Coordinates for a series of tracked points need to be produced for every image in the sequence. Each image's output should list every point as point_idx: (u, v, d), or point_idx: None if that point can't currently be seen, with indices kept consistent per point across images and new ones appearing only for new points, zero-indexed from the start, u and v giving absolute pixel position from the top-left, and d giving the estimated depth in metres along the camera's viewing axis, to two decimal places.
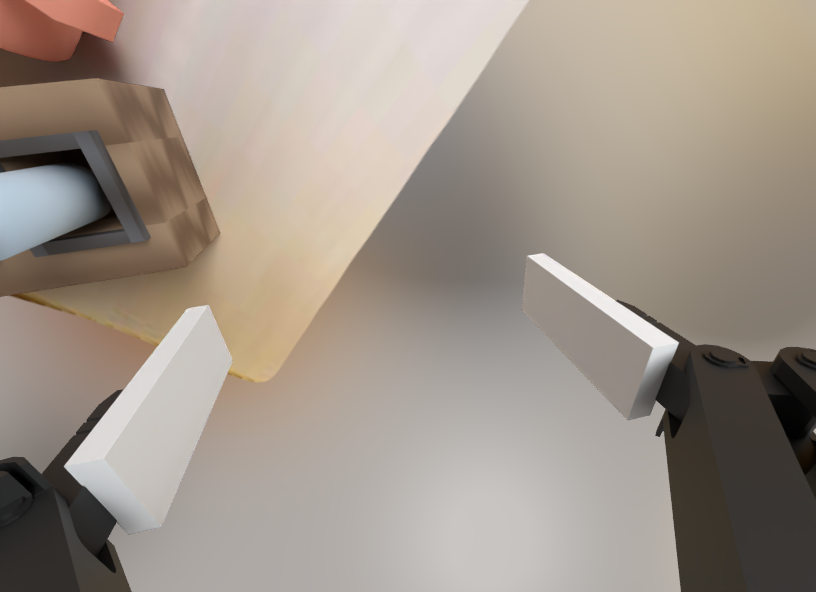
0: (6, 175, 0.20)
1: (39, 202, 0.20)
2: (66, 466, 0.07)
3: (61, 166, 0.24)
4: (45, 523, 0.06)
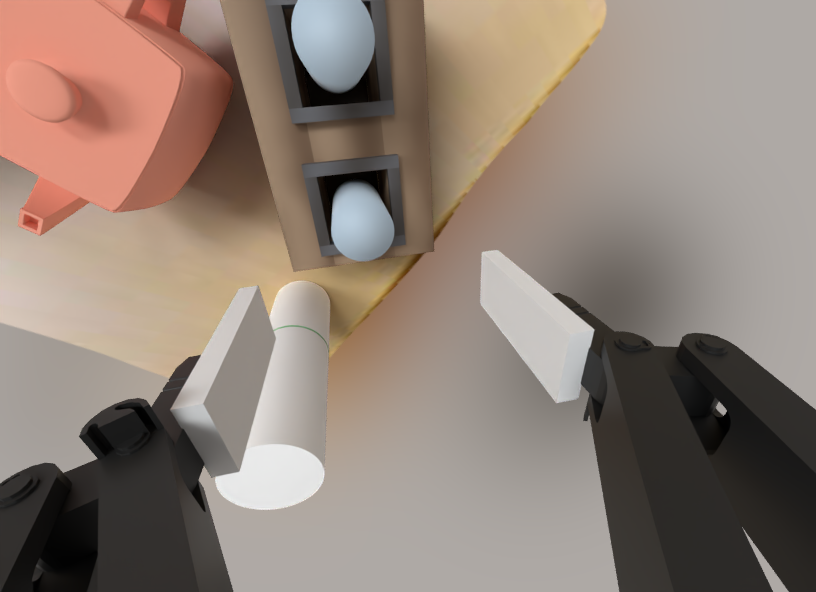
0: None
1: None
2: (171, 410, 0.08)
3: None
4: (158, 458, 0.07)
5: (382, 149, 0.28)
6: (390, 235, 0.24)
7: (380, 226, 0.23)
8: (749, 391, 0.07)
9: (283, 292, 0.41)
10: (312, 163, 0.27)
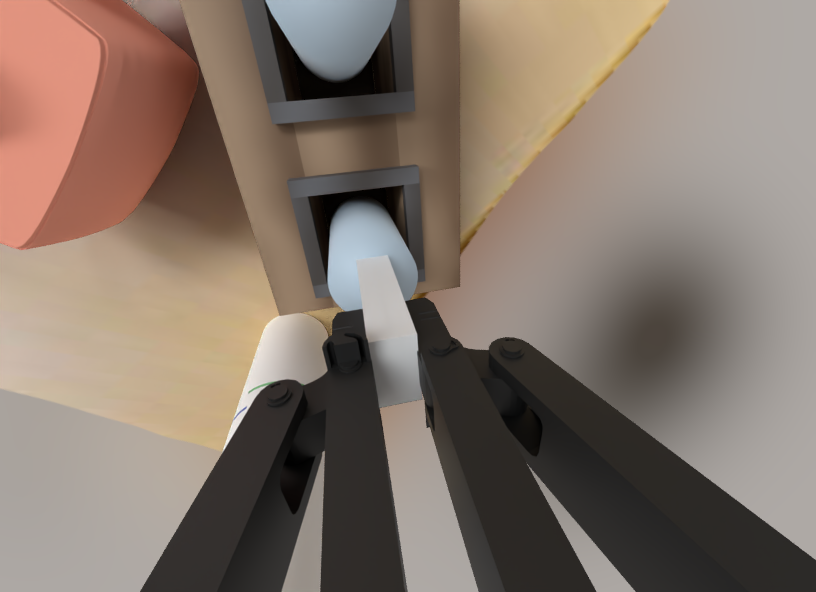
0: None
1: None
2: (368, 342, 0.10)
3: None
4: (366, 385, 0.08)
5: (397, 158, 0.21)
6: (412, 283, 0.17)
7: (398, 272, 0.16)
8: (547, 390, 0.08)
9: (271, 329, 0.34)
10: (301, 179, 0.20)
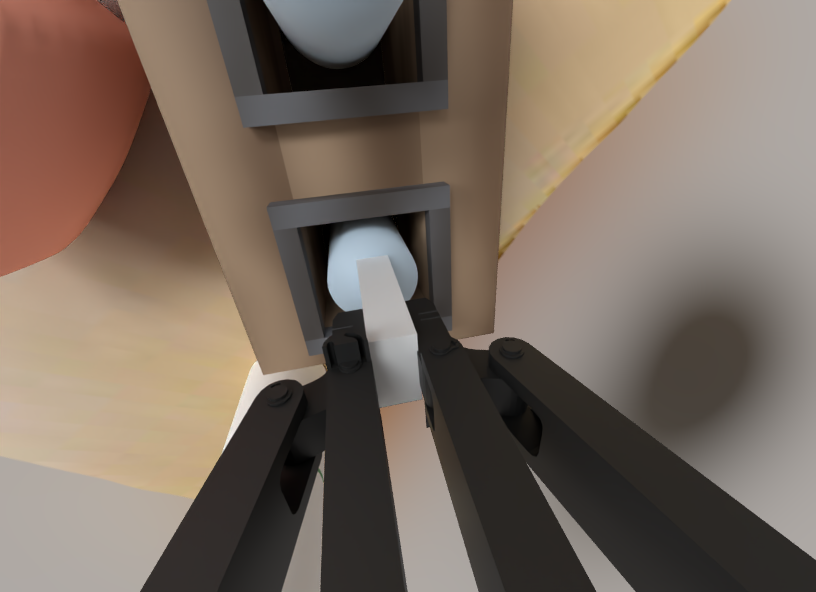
0: None
1: None
2: (368, 342, 0.10)
3: None
4: (366, 385, 0.08)
5: (419, 174, 0.15)
6: (412, 283, 0.17)
7: (398, 272, 0.16)
8: (547, 390, 0.08)
9: (258, 371, 0.28)
10: (287, 204, 0.14)
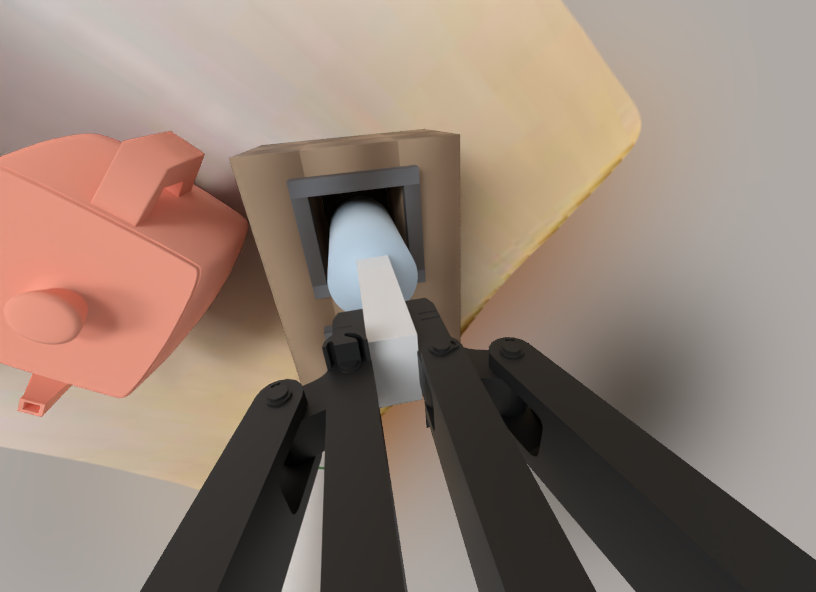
0: (329, 249, 0.18)
1: (356, 225, 0.17)
2: (368, 342, 0.10)
3: (330, 225, 0.22)
4: (366, 385, 0.08)
5: None
6: None
7: None
8: (547, 390, 0.08)
9: None
10: None
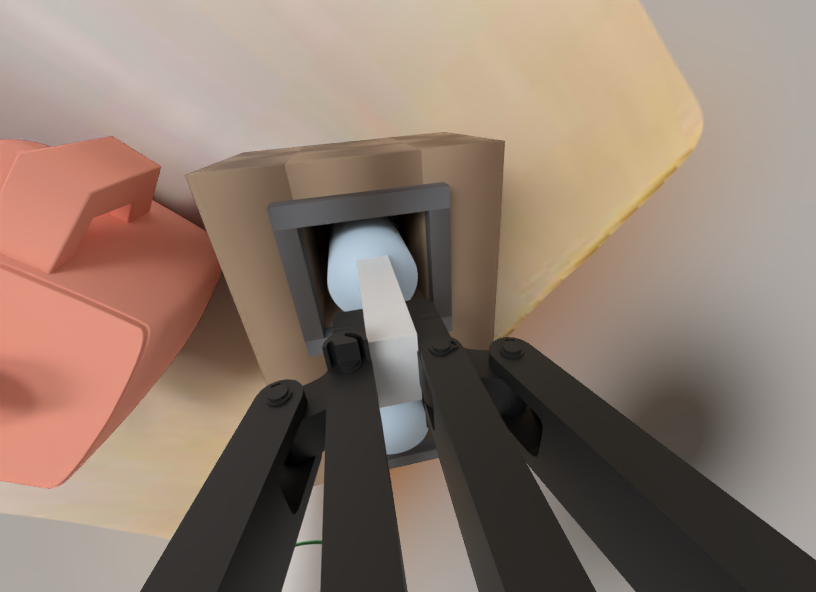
0: (329, 249, 0.18)
1: (356, 225, 0.17)
2: (368, 342, 0.10)
3: (330, 225, 0.22)
4: (366, 385, 0.08)
5: None
6: (424, 430, 0.22)
7: (414, 425, 0.22)
8: (547, 390, 0.08)
9: None
10: None
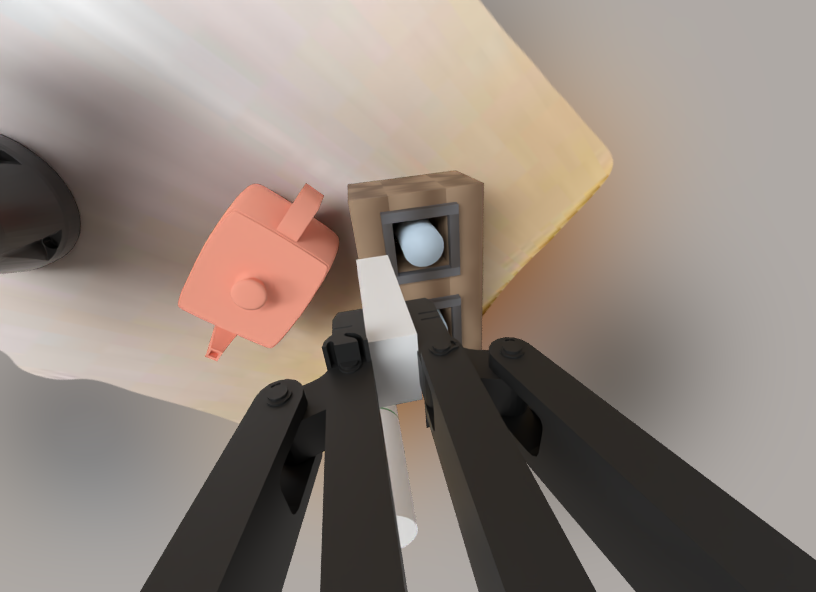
0: (399, 234, 0.37)
1: (414, 222, 0.36)
2: (368, 342, 0.10)
3: (394, 223, 0.41)
4: (366, 385, 0.08)
5: (448, 292, 0.39)
6: None
7: None
8: (547, 390, 0.08)
9: None
10: None
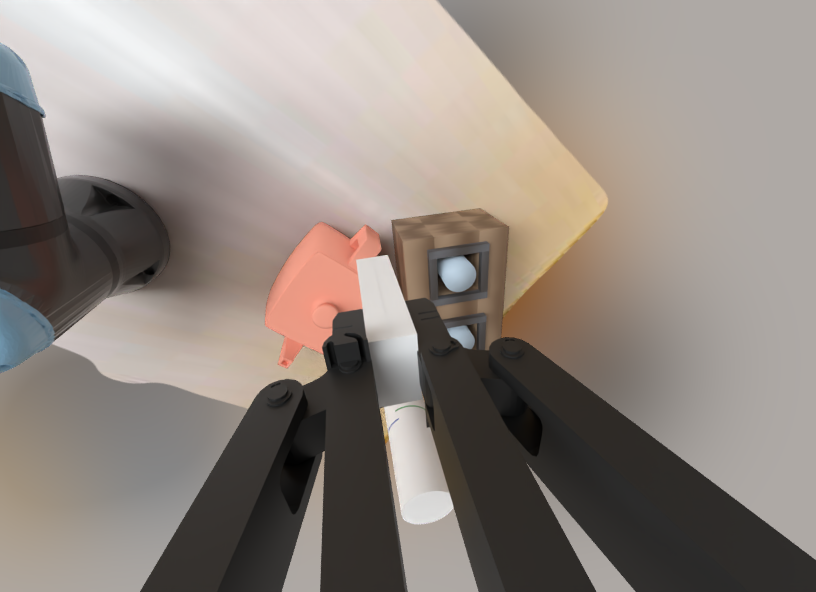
0: (438, 264, 0.46)
1: None
2: (368, 342, 0.10)
3: None
4: (366, 385, 0.08)
5: (476, 310, 0.48)
6: (472, 344, 0.49)
7: (468, 341, 0.49)
8: (547, 390, 0.08)
9: None
10: None
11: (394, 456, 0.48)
